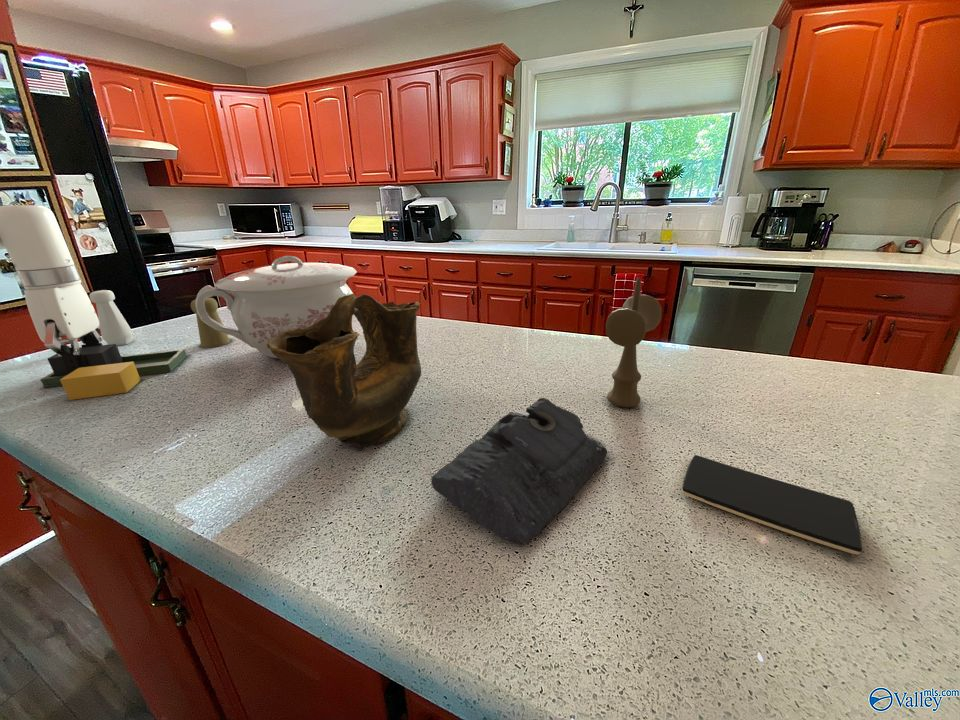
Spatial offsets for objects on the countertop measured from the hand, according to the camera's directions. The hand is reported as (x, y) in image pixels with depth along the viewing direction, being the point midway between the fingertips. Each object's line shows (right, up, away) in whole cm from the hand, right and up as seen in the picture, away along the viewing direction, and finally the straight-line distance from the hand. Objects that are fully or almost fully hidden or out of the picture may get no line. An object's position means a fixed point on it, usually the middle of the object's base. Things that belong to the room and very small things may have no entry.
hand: (89, 367), depth 79 cm
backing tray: (+5, -1, +2) cm, 5 cm away
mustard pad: (+10, -4, -6) cm, 12 cm away
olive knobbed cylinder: (+14, +5, +16) cm, 22 cm away
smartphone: (+108, -14, -37) cm, 115 cm away
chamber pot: (+38, +4, +11) cm, 40 cm away
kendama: (+101, -5, -16) cm, 103 cm away
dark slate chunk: (+83, -12, -30) cm, 89 cm away
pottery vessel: (+62, -9, -21) cm, 66 cm away
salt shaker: (-10, +5, +18) cm, 21 cm away
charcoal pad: (0, 0, 0) cm, 0 cm away
